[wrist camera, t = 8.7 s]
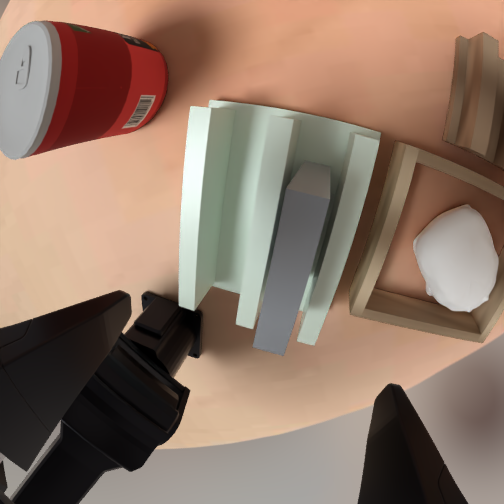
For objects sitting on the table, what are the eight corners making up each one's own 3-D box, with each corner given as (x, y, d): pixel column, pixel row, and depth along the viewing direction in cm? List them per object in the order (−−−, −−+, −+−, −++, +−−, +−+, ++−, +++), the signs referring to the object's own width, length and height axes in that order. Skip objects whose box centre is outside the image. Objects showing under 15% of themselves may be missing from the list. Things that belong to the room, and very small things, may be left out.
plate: (302, 275, 20) (283, 356, 13) (280, 270, 21) (252, 347, 14) (330, 166, 17) (329, 199, 10) (305, 160, 17) (286, 188, 10)
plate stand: (504, 170, 14) (527, 180, 11) (442, 140, 15) (461, 144, 12) (518, 75, 10) (541, 72, 7) (455, 38, 11) (474, 26, 8)
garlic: (497, 269, 17) (516, 294, 14) (434, 310, 20) (446, 339, 17) (467, 186, 15) (492, 201, 12) (396, 235, 18) (407, 258, 15)
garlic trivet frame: (471, 321, 19) (482, 343, 16) (348, 291, 21) (349, 314, 18) (526, 200, 14) (547, 212, 11) (395, 140, 16) (406, 144, 13)
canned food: (173, 31, 16) (60, -4, 6) (172, 129, 19) (52, 152, 10) (99, 53, 17) (-7, 51, 8) (99, 137, 21) (-7, 167, 11)
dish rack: (326, 309, 22) (321, 353, 18) (198, 274, 24) (170, 308, 20) (378, 132, 16) (395, 135, 11) (215, 100, 17) (180, 96, 13)
